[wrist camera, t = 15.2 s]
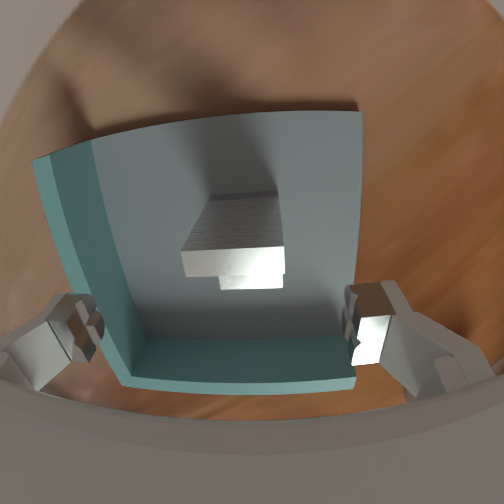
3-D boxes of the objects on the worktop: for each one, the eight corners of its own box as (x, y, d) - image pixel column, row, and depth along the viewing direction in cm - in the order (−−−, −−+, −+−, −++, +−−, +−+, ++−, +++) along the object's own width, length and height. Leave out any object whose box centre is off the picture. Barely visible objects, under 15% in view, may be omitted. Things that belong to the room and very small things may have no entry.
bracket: (210, 195, 18) (180, 251, 12) (278, 190, 17) (283, 246, 11) (222, 279, 21) (205, 356, 14) (281, 277, 20) (285, 355, 14)
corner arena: (139, 343, 25) (122, 385, 21) (78, 142, 17) (31, 160, 12) (342, 342, 24) (353, 388, 19) (359, 111, 15) (391, 117, 11)
